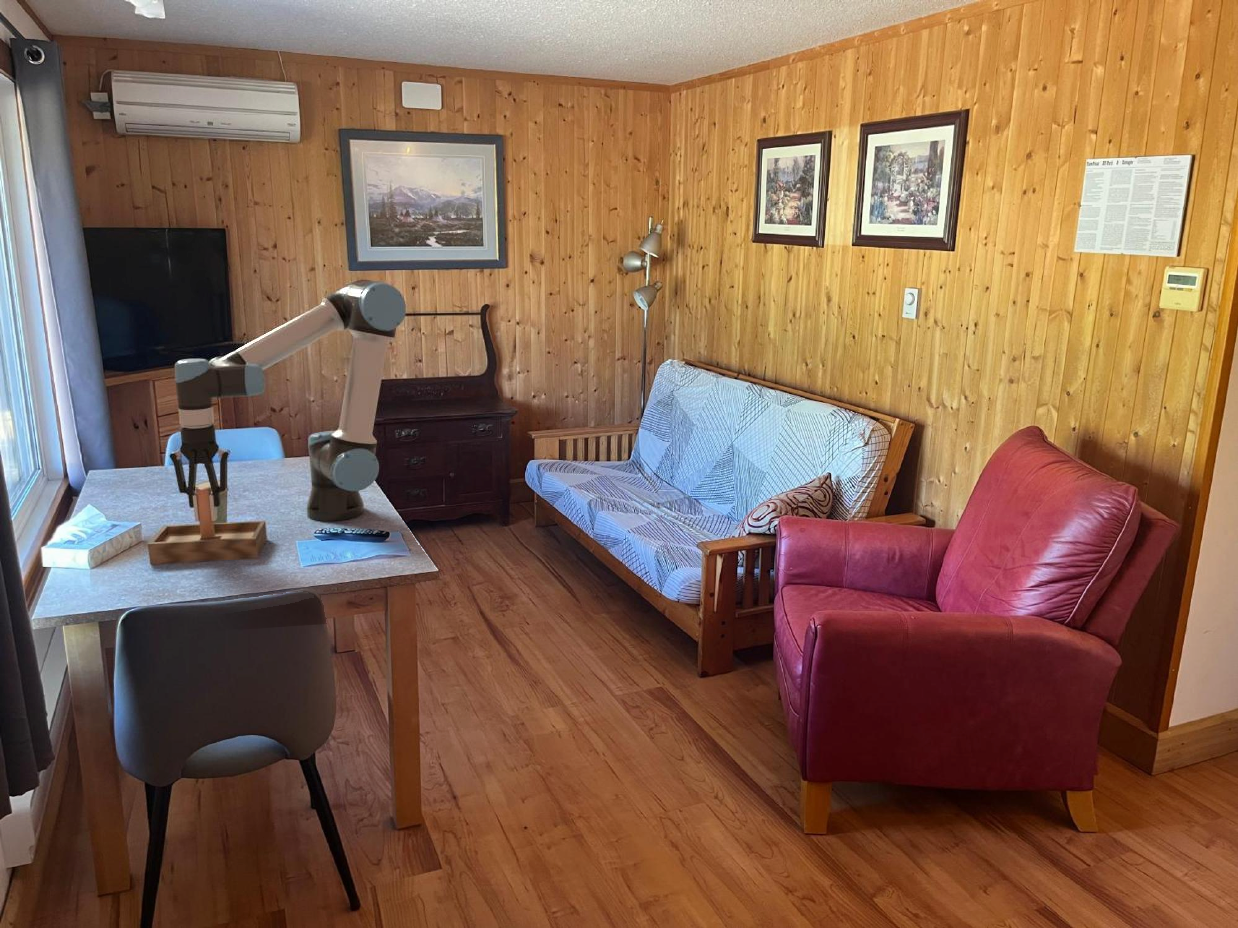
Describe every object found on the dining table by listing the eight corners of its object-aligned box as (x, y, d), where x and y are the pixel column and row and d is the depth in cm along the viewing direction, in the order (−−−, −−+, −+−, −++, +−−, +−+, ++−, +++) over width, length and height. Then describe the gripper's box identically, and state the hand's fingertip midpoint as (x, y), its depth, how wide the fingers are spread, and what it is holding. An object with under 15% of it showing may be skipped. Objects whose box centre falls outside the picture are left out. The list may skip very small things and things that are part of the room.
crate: (267, 539, 242) (265, 520, 241) (257, 558, 229) (255, 538, 227) (166, 544, 238) (163, 525, 236) (150, 564, 224) (147, 544, 223)
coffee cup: (194, 534, 246) (190, 489, 242) (199, 524, 253) (194, 480, 250) (230, 531, 248) (225, 487, 245) (234, 521, 256) (229, 478, 253)
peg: (213, 537, 231) (208, 490, 228) (199, 538, 230) (194, 490, 227) (216, 533, 234) (212, 486, 231) (202, 534, 233) (198, 487, 230)
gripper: (236, 420, 230) (244, 513, 236) (165, 422, 227) (175, 516, 233) (230, 427, 223) (238, 522, 229) (156, 429, 220) (166, 525, 226)
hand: (206, 519), depth 231 cm, fingers closed on peg, 3 cm apart
